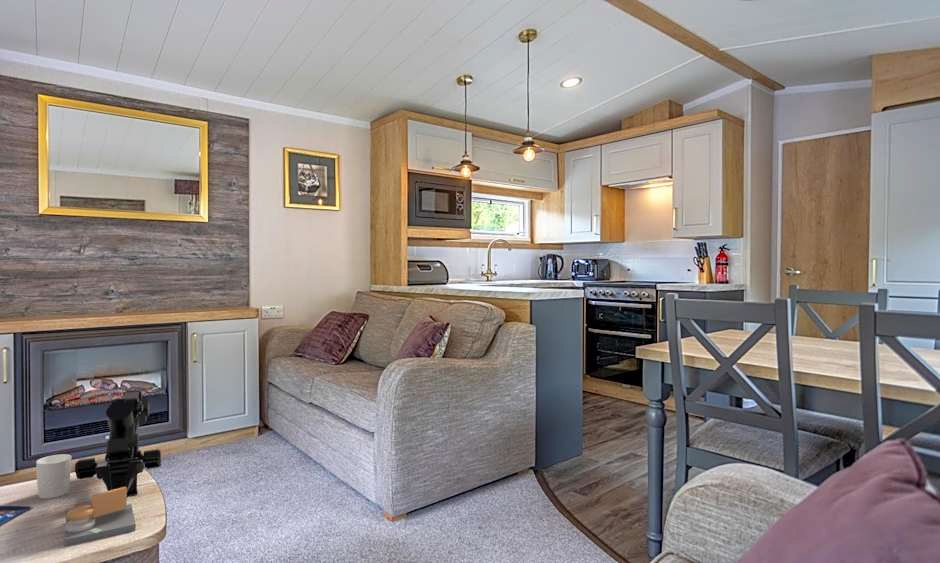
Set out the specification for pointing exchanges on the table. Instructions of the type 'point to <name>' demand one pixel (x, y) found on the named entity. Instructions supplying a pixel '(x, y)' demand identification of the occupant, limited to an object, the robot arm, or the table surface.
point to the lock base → (99, 526)
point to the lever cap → (101, 504)
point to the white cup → (53, 475)
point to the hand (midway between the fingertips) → (117, 494)
